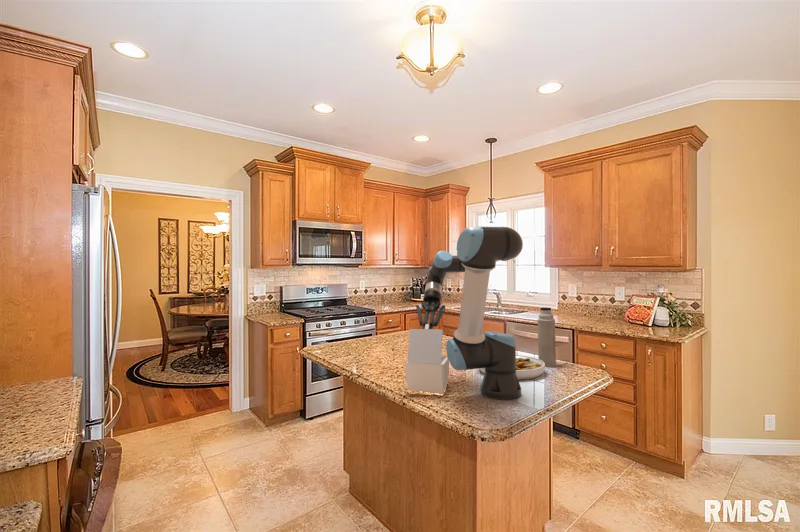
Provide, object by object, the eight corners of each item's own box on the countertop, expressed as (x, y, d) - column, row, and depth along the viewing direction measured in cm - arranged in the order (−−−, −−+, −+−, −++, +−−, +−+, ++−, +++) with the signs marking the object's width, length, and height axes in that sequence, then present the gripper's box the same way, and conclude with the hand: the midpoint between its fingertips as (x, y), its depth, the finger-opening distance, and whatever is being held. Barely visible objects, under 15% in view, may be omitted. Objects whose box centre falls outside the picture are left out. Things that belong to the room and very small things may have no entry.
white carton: (414, 382, 163) (413, 354, 163) (449, 384, 159) (449, 356, 159) (405, 393, 149) (405, 363, 149) (444, 396, 145) (443, 364, 145)
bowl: (535, 364, 190) (535, 348, 190) (553, 382, 160) (553, 363, 160) (474, 363, 193) (474, 348, 193) (480, 381, 163) (480, 363, 163)
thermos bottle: (558, 364, 187) (556, 307, 187) (553, 367, 181) (552, 308, 181) (541, 362, 192) (540, 306, 192) (536, 365, 186) (535, 308, 186)
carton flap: (410, 329, 154) (410, 328, 153) (442, 329, 150) (442, 329, 150) (407, 362, 148) (407, 362, 148) (441, 364, 145) (440, 363, 144)
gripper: (448, 300, 170) (443, 345, 154) (419, 300, 173) (411, 344, 157) (446, 288, 165) (440, 334, 149) (416, 289, 168) (408, 333, 152)
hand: (425, 339), depth 153 cm, fingers closed
